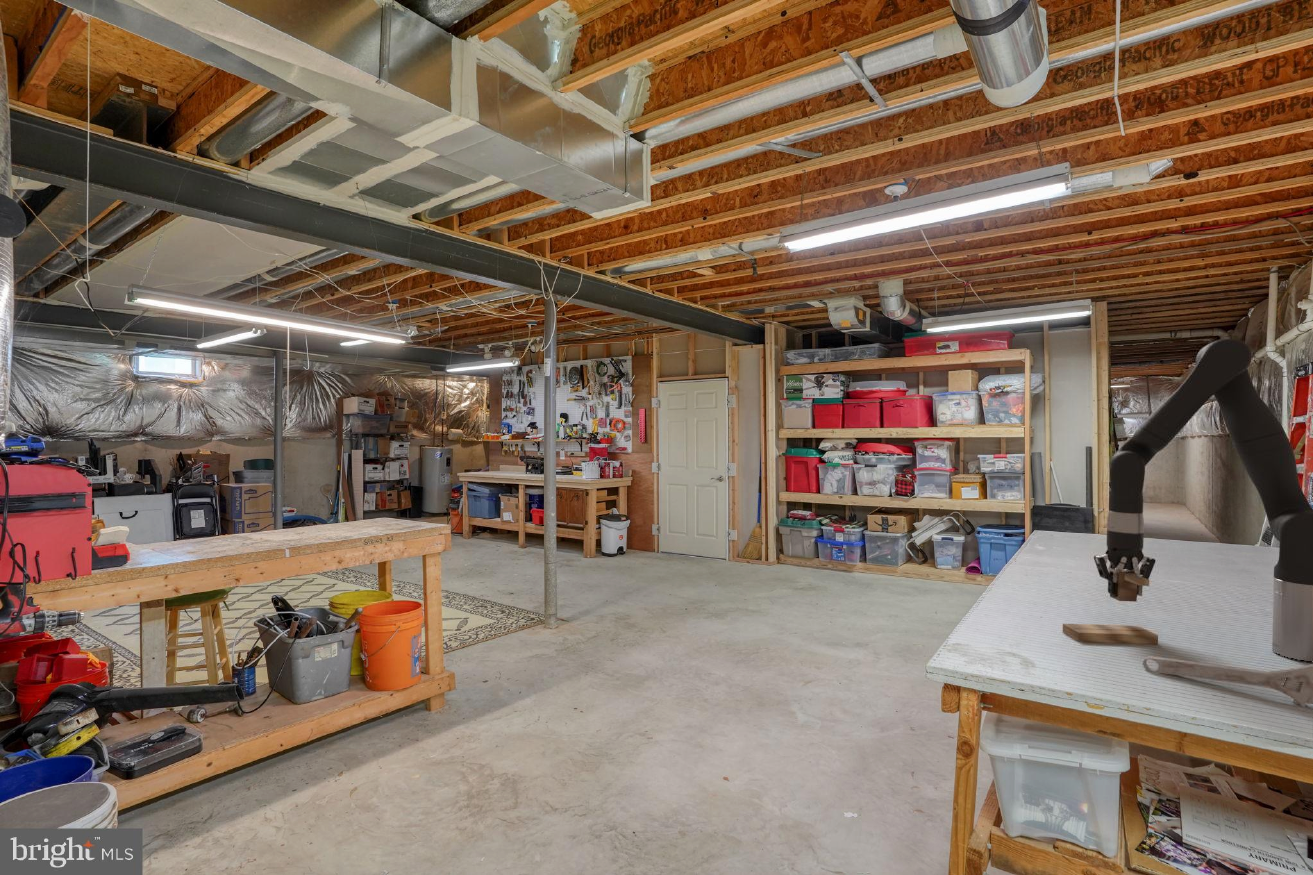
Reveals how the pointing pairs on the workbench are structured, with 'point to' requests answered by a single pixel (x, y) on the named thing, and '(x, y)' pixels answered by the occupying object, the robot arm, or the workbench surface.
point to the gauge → (1129, 586)
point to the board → (1110, 633)
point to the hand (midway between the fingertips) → (1123, 596)
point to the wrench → (1244, 676)
